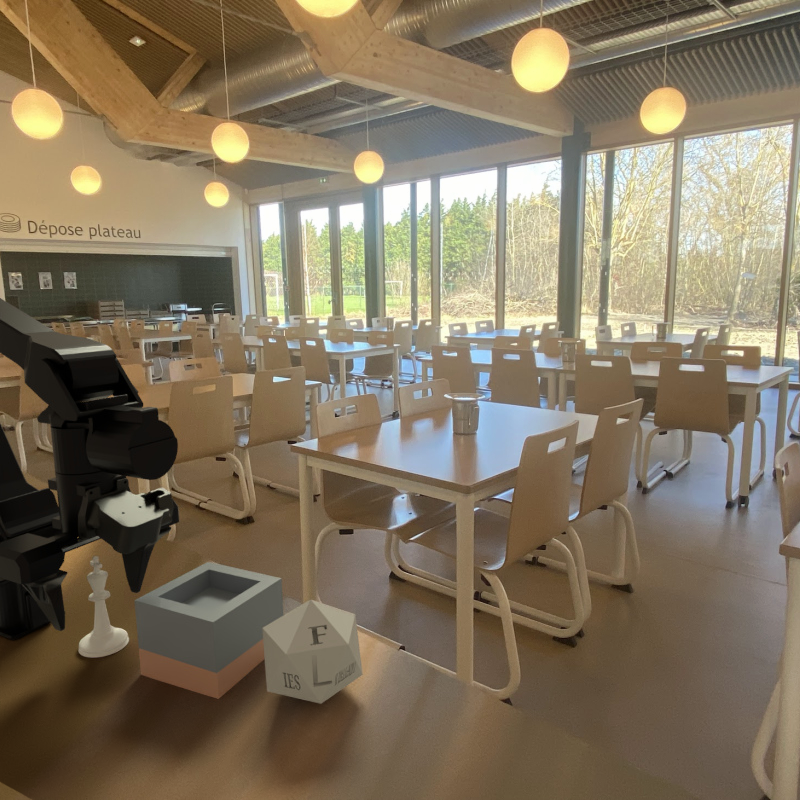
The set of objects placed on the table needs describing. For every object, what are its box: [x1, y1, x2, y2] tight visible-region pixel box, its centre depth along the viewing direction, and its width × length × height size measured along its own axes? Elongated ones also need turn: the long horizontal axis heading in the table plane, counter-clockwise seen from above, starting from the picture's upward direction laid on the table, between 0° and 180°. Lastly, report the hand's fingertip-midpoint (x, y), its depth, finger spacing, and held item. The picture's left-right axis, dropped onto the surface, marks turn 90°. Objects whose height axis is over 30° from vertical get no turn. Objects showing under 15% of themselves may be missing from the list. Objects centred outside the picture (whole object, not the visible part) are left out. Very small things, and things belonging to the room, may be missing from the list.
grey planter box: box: [134, 561, 284, 700], centre depth 65 cm, size 10×10×8 cm
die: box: [262, 599, 364, 705], centre depth 58 cm, size 8×9×10 cm
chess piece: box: [78, 555, 130, 659], centre depth 68 cm, size 5×5×10 cm
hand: (99, 609), depth 69 cm, fingers open, 9 cm apart
